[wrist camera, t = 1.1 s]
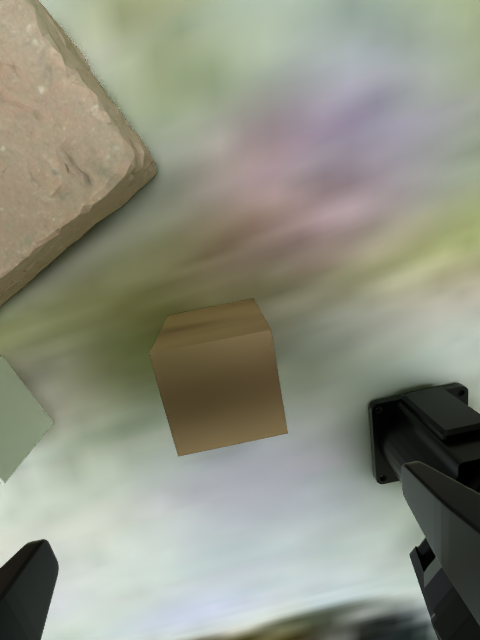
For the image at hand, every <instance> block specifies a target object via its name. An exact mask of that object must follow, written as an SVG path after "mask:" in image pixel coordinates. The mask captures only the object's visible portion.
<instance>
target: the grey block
mask: <svg viewBox="0 0 480 640" xmlns="http://www.w3.org/2000/svg"><path fill="white" fill-rule="evenodd" d="M53 423H54V422H53V421H52V419H51V418H50V417H49V416H48V414H47V413H46V412H45V410H44V409H43V408H42V406H41V405H40V404H39V403H38V401H37V400H36V399H35V397H34V396H33V395H32V394H31V392H30V391H29V390H28V388H27V387H26V386H25V384H24V383H23V382H22V381H21V379H20V378H19V377H18V375H17V374H16V373H15V372H14V370H13V369H12V368H11V366H10V365H9V364H8V362H7V361H6V360H5V359H4V357H3V356H0V485H2V484H4V483H6V481H7V480H8V479H9V478H10V476H11V475H12V474H13V473H14V471H15V470H16V469H17V468H18V466H19V465H20V464H21V463H22V461H23V460H24V459H25V458H26V456H27V455H28V454H29V453H30V452H31V450H32V449H33V448H34V447H35V445H36V444H37V443H38V442H39V440H40V439H41V438H42V437H43V435H44V434H45V433H46V432H47V430H48V429H49V428H50V427H51V425H52V424H53Z"/></svg>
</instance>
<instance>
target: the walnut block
mask: <svg viewBox="0 0 480 640" xmlns="http://www.w3.org/2000/svg"><path fill="white" fill-rule="evenodd" d="M149 356H150V360H151V363H152V367H153V370H154V374H155V377H156V381H157V384H158V388H159V391H160V395H161V398H162V402H163V405H164V409H165V412H166V416H167V419H168V423H169V426H170V430H171V433H172V437H173V440H174V444H175V447H176V451H177V454H178V456H183V455H187V454H192V453H197V452H202V451H206V450H211V449H216V448H221V447H225V446H230V445H235V444H240V443H244V442H249V441H254V440H259V439H263V438H268V437H273V436H278V435H282V434H287V433H288V432H287V425H286V419H285V413H284V407H283V401H282V395H281V389H280V382H279V376H278V370H277V364H276V358H275V352H274V346H273V339H272V333H271V329H270V327H269V325H268V324H267V322H266V320H265V318H264V317H263V315H262V313H261V311H260V310H259V308H258V306H257V304H256V303H255V301H254V299H253V298H252V299H247V300H242V301H237V302H232V303H227V304H222V305H217V306H212V307H207V308H202V309H197V310H192V311H187V312H182V313H177V314H172V315H168V317H167V319H166V321H165V323H164V325H163V327H162V329H161V331H160V333H159V335H158V337H157V339H156V341H155V343H154V345H153V347H152V349H151V351H150V353H149Z"/></svg>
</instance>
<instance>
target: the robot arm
mask: <svg viewBox="0 0 480 640" xmlns="http://www.w3.org/2000/svg"><path fill="white" fill-rule="evenodd" d="M459 390H460V391H459ZM458 391H459V393H457V392H458ZM378 407H380V408H379V409H378V410H376V408H378ZM369 418H370V432H371V445H372V459H373V473H374V478H375V479H376V481H377V482H378V483H379V484H386V483H391V482H395V481H401V482H402V489H403V494H404V497H405V499H406V501H407V503H408V505H409V507H410V509H411V511H412V513H413V514H414V516H415V518H416V520H417V522H418V524H419V526H420V528H421V530H422V531H423V533H424V535H425V539H424V540H423V541H422V542H421V544H420V545H419V546H418V547H415V548H414V549H413V550H412V552H411V553H410V558H411V561H412V564H413V567H414V570H415V573H416V576H417V579H418V582H419V585H420V588H421V591H422V594H423V597H424V600H425V603H426V606H427V609H428V612H429V614H430V617H431V622H432V625H433V628H434V630H435V632H436V635H437V637H438V640H480V414H479V413H477V412H476V411H475V410H473V409H472V408H470V407H469V406H468V389H467V388H466V387H465V386H463V385H462V384H459V383H457V384H452V385H447V386H442V387H434V388H429V389H425V390H420V391H415V392H410V393H405V394H403V395H399V396H394V397H390V398H385V399H380V400H375V401H373V402H372V403H371V404H370V405H369ZM381 476H382V477H381ZM58 570H59V566H58V561H57V559H56V557H55V555H54V552H53V550H52V548H51V546H50V544H49V542H48V541H47V540H45V539H42V540H37V541H32V542H29V543H27V544H26V545H25V546H23V547H22V548H21V549H20V550H19V551H18V552H17V553H16V554H15V555H14V556H13V557H12V558H11V559H10V560H9V561H7V562H6V563H5V564H4V565H3V566H2V567H1V568H0V640H41V637H42V633H43V629H44V626H45V622H46V618H47V614H48V610H49V606H50V603H51V599H52V595H53V591H54V587H55V584H56V580H57V576H58Z"/></svg>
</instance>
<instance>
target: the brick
mask: <svg viewBox="0 0 480 640" xmlns="http://www.w3.org/2000/svg"><path fill="white" fill-rule="evenodd" d="M155 165H156V163H155V161H154V160H153V158H152V157H151V155H150V152H149V151H148V149H147V148H146V146H145V145H144V143H143V141H142V139H141V138H140V136H139V135H138V134H136V133H135V132H134V131H133V130H132V129H131V127H130V125H129V123H128V122H127V121H126V120H125V119H124V118H123V116H122V115H121V113H120V111H119V109H118V108H117V106H116V105H114V103H113V102H112V101H111V100H110V99H109V97H108V95H107V94H106V92H105V90H104V89H103V88H102V86H101V85H100V84H99V82H98V81H97V79H96V78H95V77H94V75H93V74H92V73H91V71H90V68H89V65H88V64H87V62H86V60H85V58H84V57H83V55H82V53H81V52H80V51H79V49H78V48H77V47H76V46H75V45H74V44H73V43H72V42H71V40H70V39H69V38H68V36H67V35H66V34H65V32H64V31H63V30H62V28H61V27H60V26H59V25H58V24H57V22H56V21H55V20H54V19H53V18H52V16H51V15H50V14H49V12H48V11H47V10H46V9H45V7H44V6H43V5H42V4H41V3H40V2H39V1H38V0H0V307H1V306H2V305H3V303H4V302H5V301H7V300H8V299H9V298H10V297H12V296H13V295H14V294H15V293H16V292H18V291H19V290H20V289H21V288H23V287H24V286H25V285H26V284H27V283H28V282H29V281H31V280H32V279H33V278H35V277H36V275H37V274H38V273H39V272H40V271H41V270H43V269H44V268H45V267H47V266H48V265H49V264H50V263H51V262H52V261H53V260H54V259H55V258H56V257H57V256H58V255H60V253H62V252H63V251H64V250H65V249H67V248H68V247H69V246H70V245H72V244H73V243H74V242H75V241H77V240H78V239H80V238H81V237H82V236H83V235H84V234H85V233H86V232H87V231H88V230H89V229H90V228H91V227H93V226H94V225H95V224H96V223H97V222H99V221H101V220H102V219H104V218H105V217H107V216H108V215H109V214H111V213H113V212H114V211H116V210H117V209H119V208H121V207H122V206H123V205H124V204H125V203H126V202H127V201H128V200H129V199H130V198H131V197H132V196H133V195H134V194H135V193H136V192H137V191H138V190H139V189H141V188H142V187H144V186H145V185H146V184H147V183H148V182H149V181H150V180H151V179H152V178H153V177H154V176H155V174H156V173H157V170H156V167H155Z"/></svg>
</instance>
